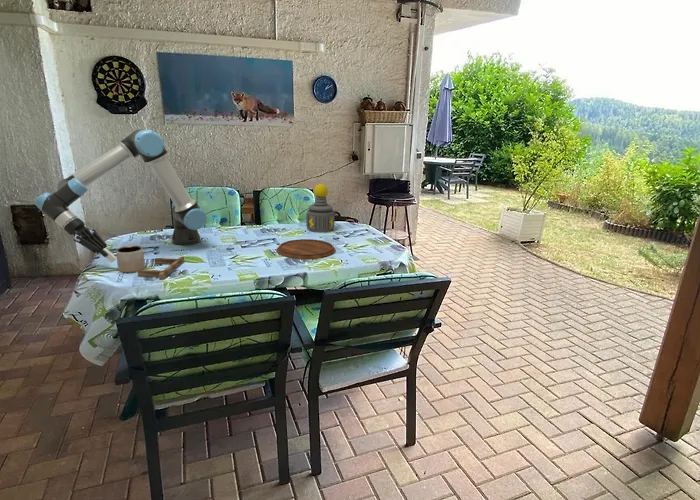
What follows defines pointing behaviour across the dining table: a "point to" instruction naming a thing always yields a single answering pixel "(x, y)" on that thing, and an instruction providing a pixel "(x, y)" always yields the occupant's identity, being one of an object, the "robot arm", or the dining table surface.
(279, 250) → the cutting board
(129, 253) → the planter
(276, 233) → the dining table surface
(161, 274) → the walnut frame
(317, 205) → the decorative lamp
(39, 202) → the robot arm
